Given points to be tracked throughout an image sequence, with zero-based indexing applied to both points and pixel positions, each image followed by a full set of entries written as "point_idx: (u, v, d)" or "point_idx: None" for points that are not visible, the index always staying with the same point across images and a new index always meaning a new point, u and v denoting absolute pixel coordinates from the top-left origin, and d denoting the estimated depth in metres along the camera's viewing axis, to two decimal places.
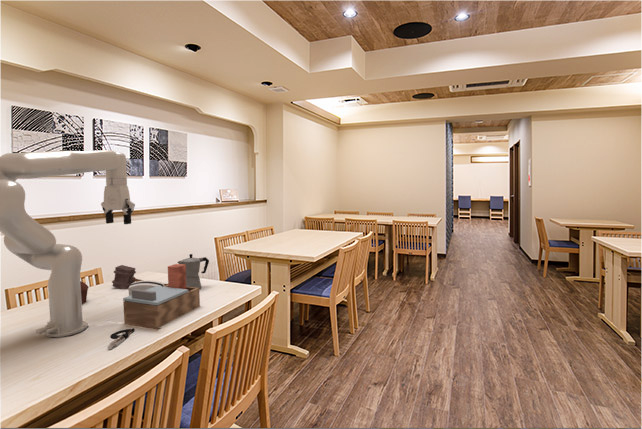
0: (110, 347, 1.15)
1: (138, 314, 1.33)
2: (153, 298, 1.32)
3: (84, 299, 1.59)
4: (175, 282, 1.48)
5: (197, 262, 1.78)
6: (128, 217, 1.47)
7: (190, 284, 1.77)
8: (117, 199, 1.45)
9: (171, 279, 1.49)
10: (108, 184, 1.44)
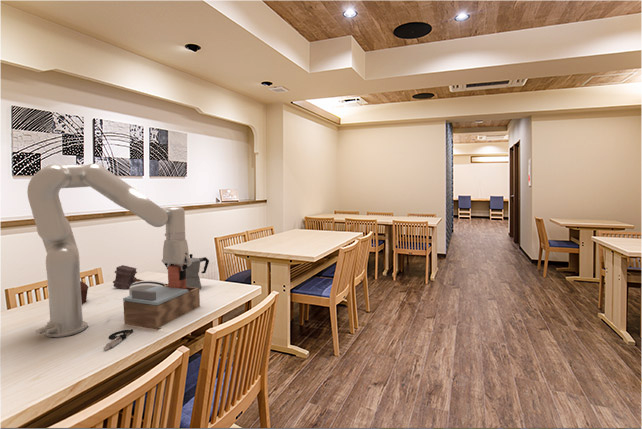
0: (106, 348, 1.14)
1: (138, 314, 1.33)
2: (153, 298, 1.32)
3: (84, 299, 1.59)
4: (175, 282, 1.48)
5: (197, 262, 1.78)
6: (183, 273, 1.49)
7: (190, 284, 1.77)
8: (177, 254, 1.46)
9: (171, 279, 1.49)
10: (169, 239, 1.46)
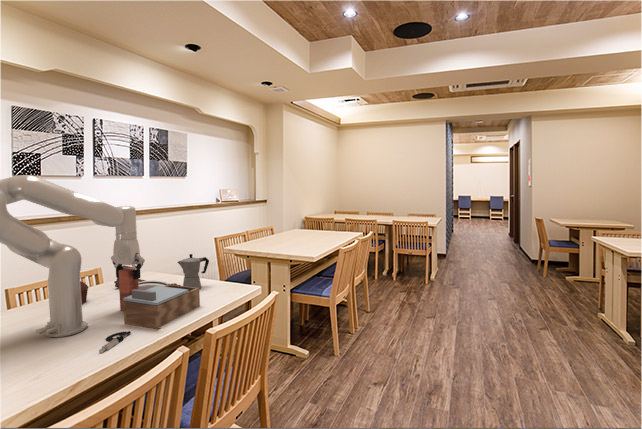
0: (101, 351, 1.13)
1: (138, 314, 1.33)
2: (153, 298, 1.32)
3: (84, 299, 1.59)
4: (126, 286, 1.45)
5: (197, 262, 1.78)
6: (137, 272, 1.45)
7: (190, 284, 1.77)
8: (127, 254, 1.43)
9: (122, 283, 1.46)
10: (118, 239, 1.43)
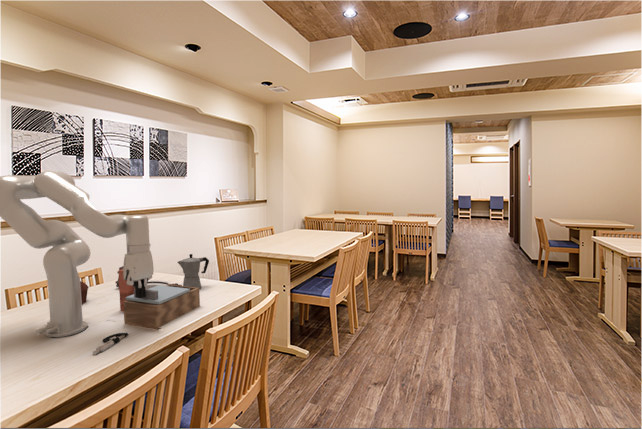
0: (95, 352, 1.11)
1: (138, 314, 1.33)
2: (155, 297, 1.33)
3: (84, 299, 1.59)
4: (126, 286, 1.45)
5: (197, 262, 1.78)
6: (137, 290, 1.31)
7: (190, 284, 1.77)
8: None
9: (122, 283, 1.46)
10: None
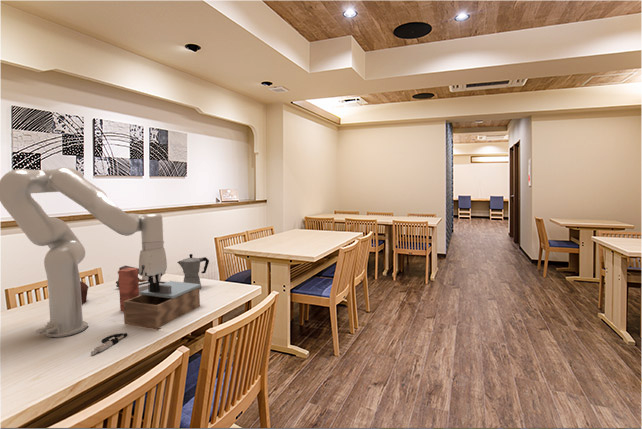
0: (93, 353, 1.11)
1: (138, 314, 1.33)
2: (169, 292, 1.40)
3: (84, 299, 1.59)
4: (125, 286, 1.45)
5: (197, 262, 1.78)
6: (151, 285, 1.37)
7: None
8: None
9: (122, 283, 1.46)
10: None
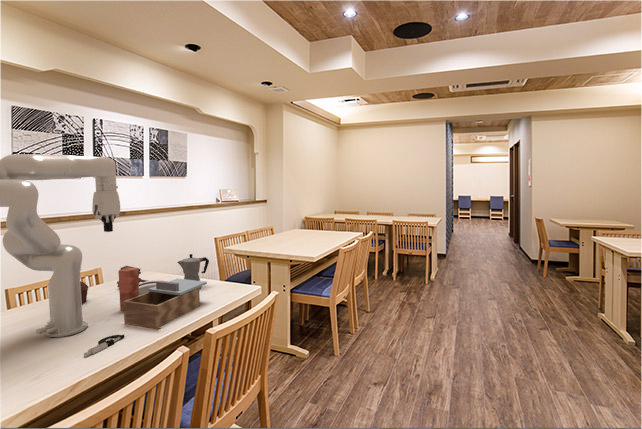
0: (86, 355, 1.10)
1: (138, 314, 1.33)
2: (176, 289, 1.43)
3: (84, 299, 1.59)
4: (125, 286, 1.45)
5: (197, 262, 1.78)
6: (105, 225, 1.50)
7: None
8: None
9: (122, 283, 1.46)
10: None
